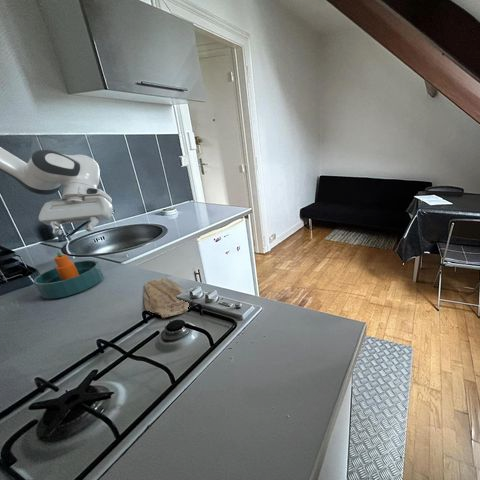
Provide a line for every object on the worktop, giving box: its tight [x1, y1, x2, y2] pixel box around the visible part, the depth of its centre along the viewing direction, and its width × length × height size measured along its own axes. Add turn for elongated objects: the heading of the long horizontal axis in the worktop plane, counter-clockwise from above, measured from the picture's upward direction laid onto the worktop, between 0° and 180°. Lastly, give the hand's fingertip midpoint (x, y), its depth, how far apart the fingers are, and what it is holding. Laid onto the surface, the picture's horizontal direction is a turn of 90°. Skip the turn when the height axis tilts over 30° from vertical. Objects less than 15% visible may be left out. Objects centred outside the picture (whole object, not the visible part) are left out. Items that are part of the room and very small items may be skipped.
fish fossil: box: [142, 277, 190, 319], centre depth 75 cm, size 26×10×1 cm, turn 48°
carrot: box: [53, 251, 79, 281], centre depth 81 cm, size 4×4×11 cm
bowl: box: [32, 259, 104, 300], centre depth 83 cm, size 15×15×6 cm
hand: (73, 232), depth 86 cm, fingers open, 8 cm apart
